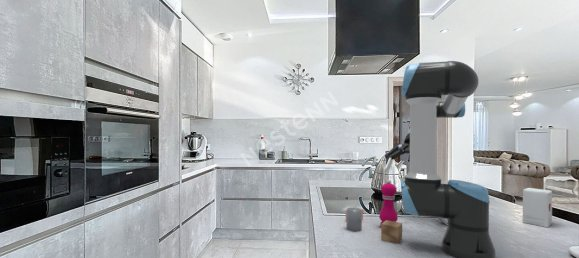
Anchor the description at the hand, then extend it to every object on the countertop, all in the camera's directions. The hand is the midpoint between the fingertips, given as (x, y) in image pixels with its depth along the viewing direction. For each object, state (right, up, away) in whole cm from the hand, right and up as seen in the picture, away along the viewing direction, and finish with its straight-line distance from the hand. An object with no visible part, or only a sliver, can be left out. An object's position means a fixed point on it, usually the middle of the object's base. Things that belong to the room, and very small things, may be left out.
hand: (400, 171), depth 131 cm
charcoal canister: (-24, -22, -12) cm, 34 cm away
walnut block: (-12, -22, -23) cm, 34 cm away
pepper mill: (-9, -22, -9) cm, 26 cm away
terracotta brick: (-21, -22, 0) cm, 30 cm away
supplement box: (+61, -23, 0) cm, 65 cm away
